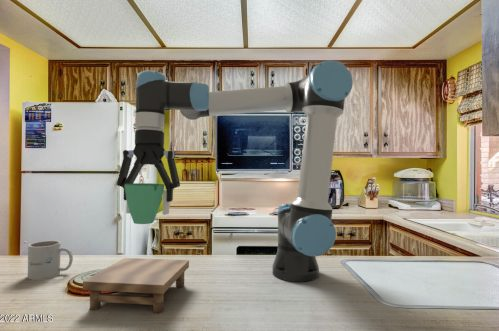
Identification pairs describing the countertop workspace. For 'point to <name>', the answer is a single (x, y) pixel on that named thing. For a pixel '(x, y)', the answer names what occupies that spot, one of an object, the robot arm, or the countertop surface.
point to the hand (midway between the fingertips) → (147, 213)
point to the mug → (46, 259)
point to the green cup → (144, 201)
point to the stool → (136, 281)
